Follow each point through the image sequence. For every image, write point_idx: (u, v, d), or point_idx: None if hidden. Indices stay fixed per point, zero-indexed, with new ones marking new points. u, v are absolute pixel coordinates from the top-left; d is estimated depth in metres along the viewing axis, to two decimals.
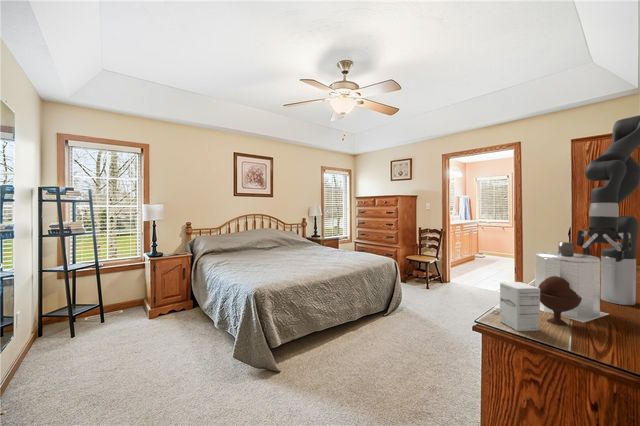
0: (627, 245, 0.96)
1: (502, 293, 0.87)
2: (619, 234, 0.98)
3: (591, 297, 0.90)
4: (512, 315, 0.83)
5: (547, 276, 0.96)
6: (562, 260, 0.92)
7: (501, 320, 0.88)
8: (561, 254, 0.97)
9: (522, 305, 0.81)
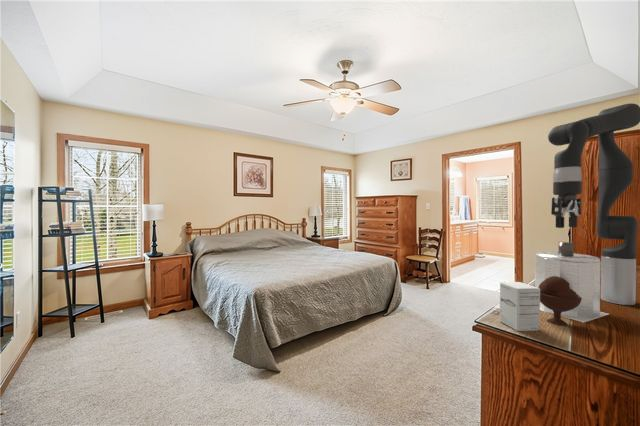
0: None
1: (502, 293, 0.87)
2: None
3: (591, 297, 0.90)
4: (512, 315, 0.83)
5: (547, 276, 0.96)
6: (562, 260, 0.92)
7: (501, 320, 0.88)
8: (561, 254, 0.97)
9: (522, 305, 0.81)
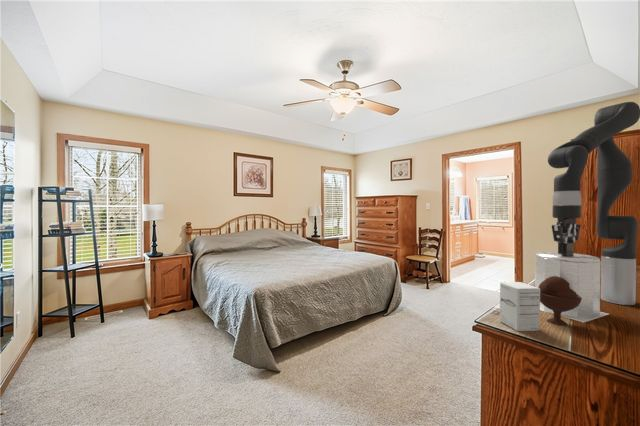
0: (578, 236, 0.99)
1: (502, 293, 0.87)
2: None
3: (591, 297, 0.90)
4: (512, 315, 0.83)
5: (547, 276, 0.96)
6: (562, 260, 0.92)
7: (501, 320, 0.88)
8: (561, 254, 0.97)
9: (522, 305, 0.81)
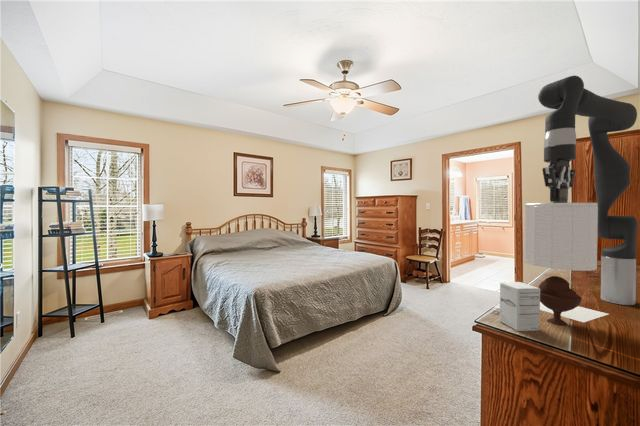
0: (572, 182, 0.87)
1: (502, 293, 0.87)
2: None
3: (587, 246, 0.78)
4: (512, 315, 0.83)
5: (537, 226, 0.84)
6: (554, 205, 0.81)
7: (501, 320, 0.88)
8: (553, 202, 0.86)
9: (522, 305, 0.81)
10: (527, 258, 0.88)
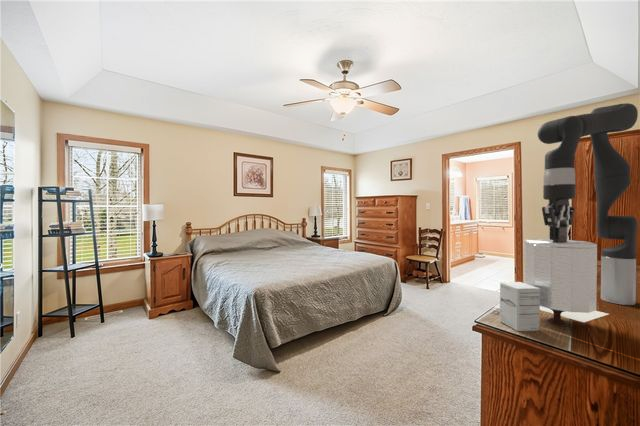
0: (572, 220, 0.88)
1: (502, 293, 0.87)
2: None
3: (586, 288, 0.78)
4: (512, 315, 0.83)
5: (537, 265, 0.84)
6: (553, 246, 0.81)
7: (501, 320, 0.88)
8: (553, 240, 0.86)
9: (522, 305, 0.81)
10: None
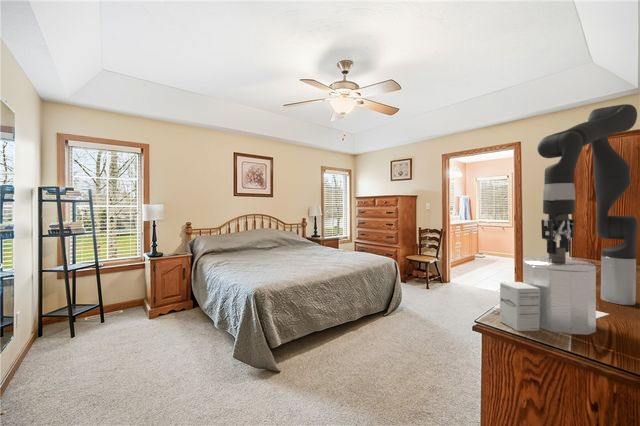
0: (573, 232, 0.88)
1: (502, 293, 0.87)
2: (567, 220, 0.88)
3: (586, 311, 0.78)
4: (512, 315, 0.83)
5: (536, 286, 0.84)
6: (552, 269, 0.81)
7: (501, 320, 0.88)
8: (551, 261, 0.86)
9: (522, 305, 0.81)
10: None
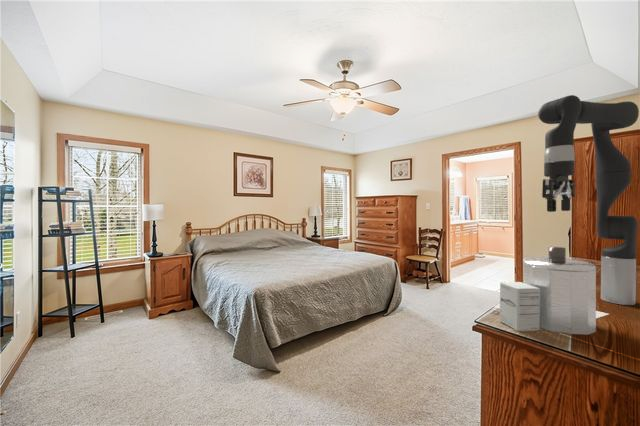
0: (574, 192, 0.93)
1: (502, 293, 0.87)
2: None
3: (586, 311, 0.78)
4: (512, 315, 0.83)
5: (536, 286, 0.84)
6: (552, 269, 0.81)
7: (501, 320, 0.88)
8: (551, 261, 0.86)
9: (522, 305, 0.81)
10: None
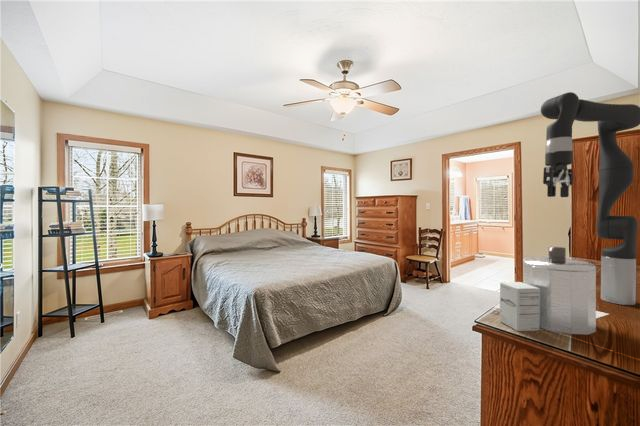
0: (572, 180, 1.02)
1: (502, 293, 0.87)
2: None
3: (586, 311, 0.78)
4: (512, 315, 0.83)
5: (536, 286, 0.84)
6: (552, 269, 0.81)
7: (501, 320, 0.88)
8: (551, 261, 0.86)
9: (522, 305, 0.81)
10: None
